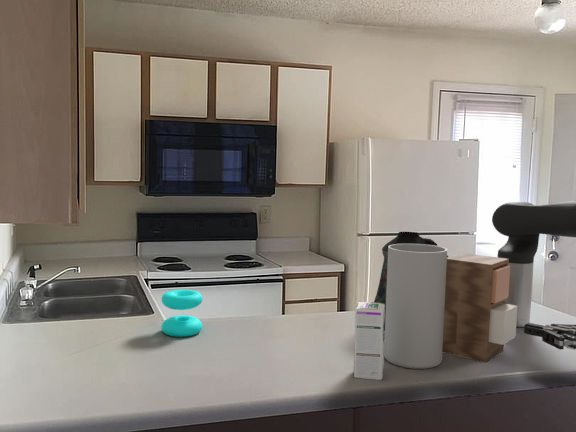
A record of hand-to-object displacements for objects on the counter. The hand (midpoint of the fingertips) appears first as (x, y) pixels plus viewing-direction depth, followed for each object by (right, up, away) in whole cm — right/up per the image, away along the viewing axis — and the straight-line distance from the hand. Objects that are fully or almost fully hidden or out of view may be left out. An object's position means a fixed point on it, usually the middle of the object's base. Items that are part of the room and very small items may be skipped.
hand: (525, 327), depth 127 cm
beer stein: (-20, -5, +29) cm, 36 cm away
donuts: (-78, -5, +18) cm, 81 cm away
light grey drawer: (-5, -3, +4) cm, 7 cm away
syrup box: (-35, -8, -8) cm, 37 cm away
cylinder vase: (-24, -8, +2) cm, 26 cm away
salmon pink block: (-6, +6, +5) cm, 10 cm away
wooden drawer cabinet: (-9, -7, +8) cm, 14 cm away
